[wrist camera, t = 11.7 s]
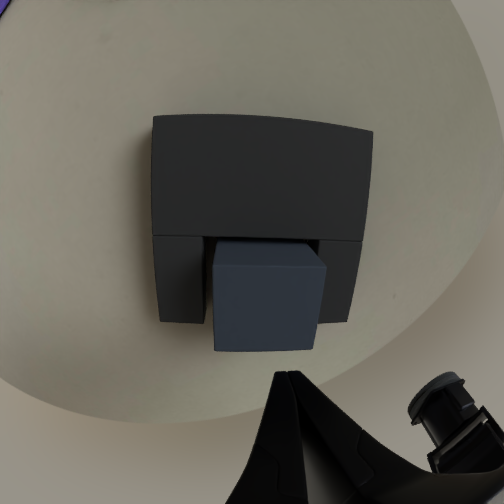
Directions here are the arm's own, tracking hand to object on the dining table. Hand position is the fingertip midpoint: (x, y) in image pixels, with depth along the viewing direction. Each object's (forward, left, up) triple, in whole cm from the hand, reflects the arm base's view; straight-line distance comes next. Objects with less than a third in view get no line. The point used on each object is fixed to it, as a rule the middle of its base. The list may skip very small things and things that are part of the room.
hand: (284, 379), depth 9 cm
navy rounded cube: (0, 0, -10) cm, 10 cm away
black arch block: (+3, 0, -10) cm, 10 cm away
